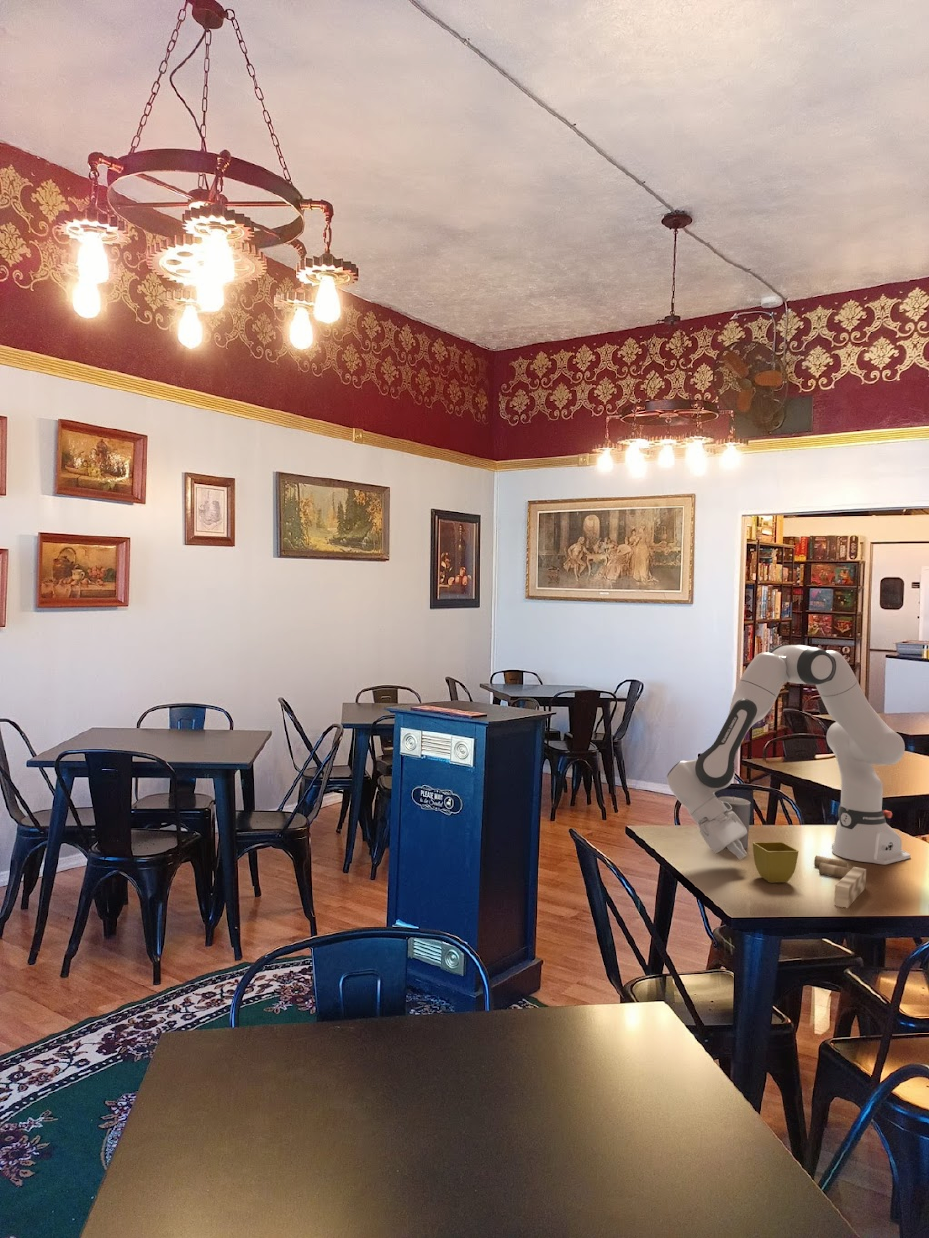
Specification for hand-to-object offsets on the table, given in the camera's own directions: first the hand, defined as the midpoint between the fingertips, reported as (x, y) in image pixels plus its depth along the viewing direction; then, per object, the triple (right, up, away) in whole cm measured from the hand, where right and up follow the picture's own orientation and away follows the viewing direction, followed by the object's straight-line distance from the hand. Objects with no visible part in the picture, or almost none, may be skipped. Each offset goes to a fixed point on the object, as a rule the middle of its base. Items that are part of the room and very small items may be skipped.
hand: (743, 857), depth 238 cm
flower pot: (+6, -5, -5) cm, 9 cm away
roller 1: (+26, -2, +7) cm, 28 cm away
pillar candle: (+5, -4, +28) cm, 28 cm away
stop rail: (+22, -6, -16) cm, 28 cm away
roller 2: (+24, -3, 0) cm, 25 cm away
